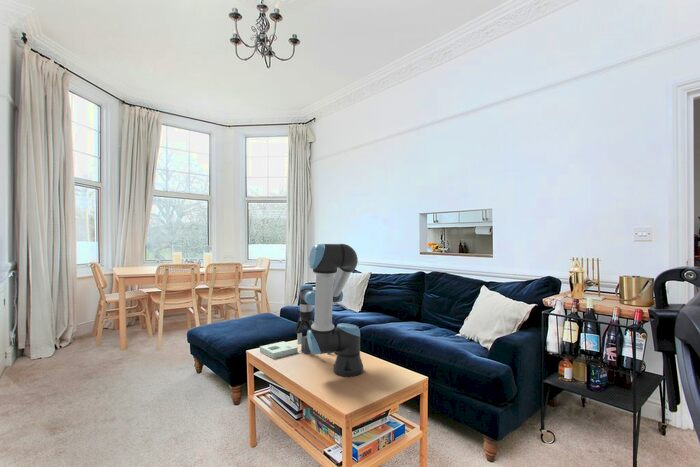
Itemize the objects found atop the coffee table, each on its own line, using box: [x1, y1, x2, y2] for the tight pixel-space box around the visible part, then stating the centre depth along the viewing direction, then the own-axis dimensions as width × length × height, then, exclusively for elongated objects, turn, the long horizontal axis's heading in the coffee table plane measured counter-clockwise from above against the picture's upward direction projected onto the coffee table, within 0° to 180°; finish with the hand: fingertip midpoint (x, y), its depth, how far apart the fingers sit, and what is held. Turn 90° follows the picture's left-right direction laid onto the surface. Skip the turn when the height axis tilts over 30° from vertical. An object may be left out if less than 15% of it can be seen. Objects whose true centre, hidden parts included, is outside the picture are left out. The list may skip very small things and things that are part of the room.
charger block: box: [300, 335, 312, 355], centre depth 207 cm, size 4×4×9 cm
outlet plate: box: [259, 341, 299, 359], centre depth 208 cm, size 16×16×3 cm
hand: (306, 346), depth 208 cm, fingers open, 13 cm apart
